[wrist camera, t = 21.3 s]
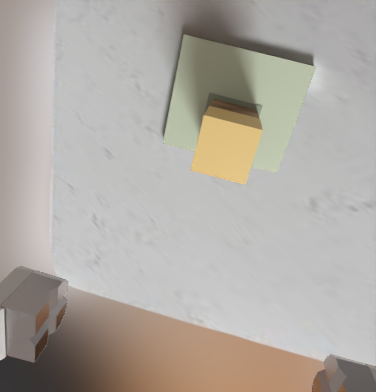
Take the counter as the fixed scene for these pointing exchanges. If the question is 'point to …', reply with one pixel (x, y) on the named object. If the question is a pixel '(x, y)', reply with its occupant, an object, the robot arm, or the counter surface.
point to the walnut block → (234, 108)
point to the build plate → (237, 94)
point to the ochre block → (226, 144)
